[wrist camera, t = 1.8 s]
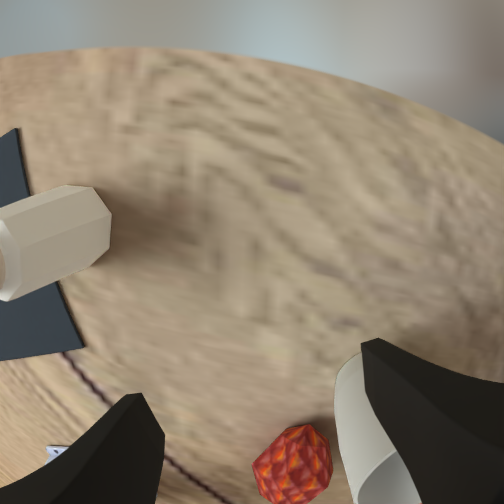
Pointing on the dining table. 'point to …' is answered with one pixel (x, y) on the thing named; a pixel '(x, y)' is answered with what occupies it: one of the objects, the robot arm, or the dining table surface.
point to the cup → (368, 445)
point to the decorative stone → (294, 466)
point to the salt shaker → (50, 238)
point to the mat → (38, 301)
